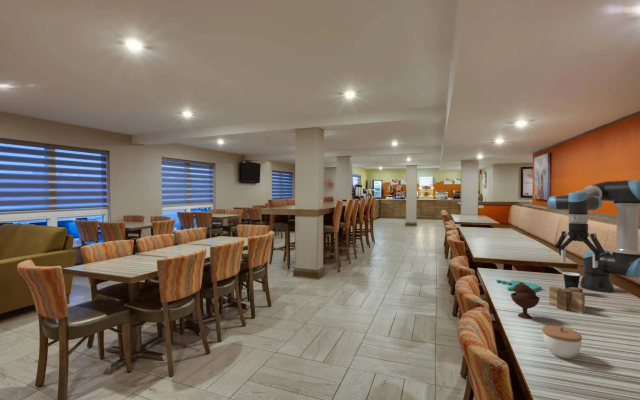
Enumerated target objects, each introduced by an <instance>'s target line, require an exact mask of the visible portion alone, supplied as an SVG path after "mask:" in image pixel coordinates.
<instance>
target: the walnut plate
mask: <svg viewBox="0 0 640 400" xmlns="http://www.w3.org/2000/svg"><path fill="white" fill-rule="evenodd" d="M583 289H584V288H582V287H580V288H579V287H578V288H577V287H570V288H565V287H564V288H561V289H559V290H557V306H556V309H559V310H562V311H567V312H568V311H570V310H569V301H571V292H574V291H575V292H579V293H584V290H583Z"/></svg>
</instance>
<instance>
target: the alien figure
mask: <svg viewBox="0 0 640 400" xmlns="http://www.w3.org/2000/svg"><path fill="white" fill-rule="evenodd" d="M495 281H496V284H502V285H507V287H506V288H507V289H506V290H507V291H508V292H513V291H514V287H515V285H517V284H525V285H527V286H528V287H529V288H531V289H533V290H534V291H535V292H536V293H537V292H538V291H540V290H541V291H542V286H540V285H539V284H536V283H531V282H525V281H521V280H514V279H513V280H511V281H507V280H501V279H495Z"/></svg>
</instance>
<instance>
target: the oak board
mask: <svg viewBox="0 0 640 400" xmlns="http://www.w3.org/2000/svg"><path fill="white" fill-rule="evenodd" d="M559 289H562V287H558V286H557V287H556V286H553V285H551V286H549V289H548V291H549V293H548V294H549V297H548V298H549V300H548V301H549V305H551V306H555V307H557V290H559ZM585 296H586V295H585V293H584V292H583V293H579V292H575V291H574V292H571V301H569V310H568V311H572V312H576V313H580V314H585V311H586V309H585V304H586V303H585V302H586V300H585V299H586V297H585Z"/></svg>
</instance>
